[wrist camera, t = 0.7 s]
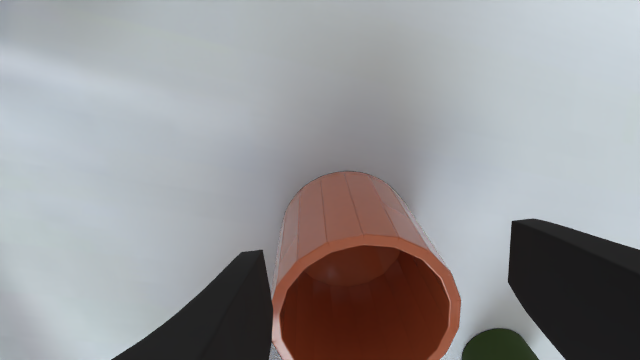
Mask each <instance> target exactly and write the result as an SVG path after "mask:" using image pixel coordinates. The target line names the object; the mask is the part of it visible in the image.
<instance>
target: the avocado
mask: <svg viewBox="0 0 640 360" xmlns="http://www.w3.org/2000/svg"><path fill="white" fill-rule="evenodd" d="M462 360H539V359H538V358H537V356H536V355H535V354H534V352H533V351H532V350H531V348H530V347H529V346H528V344H527V343H526V342H525V341H524V339H523V338H522V337H521V336H520V335H519V334H517V333H516V332H514V331H511V330H507V329H492V330H488V331H485V332H483V333H481V334H479V335H477V336H476V337H474V338H473V339H472V340H471V341H470V342H469V343H468V344H467V346H466V347H465V349H464V351H463V355H462Z"/></svg>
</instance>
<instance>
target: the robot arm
mask: <svg viewBox="0 0 640 360" xmlns="http://www.w3.org/2000/svg"><path fill="white" fill-rule="evenodd" d="M508 283H509V285H510V287H511V288H512V290H513V292H514V293H515V295H516V297H517V298H518V300H519V301H520V303H521V305H522V306H523V308H524V309H525V311H526V312H527V313H528V315H529V316H530V317H531V318H532V320H533V321H534V322H535V323H536V325H537V326H538V327H539V328H540V329H541V331H542V332H543V333H544V334H545V336H546V337H547V338H548V339H549V340H550V342H551V343H552V344H553V345H554V346H555V348H556V349H557V350H558V351H559V352H560V354H561V355H562V356H563V357H564V358H565V359H566V360H640V250H638V249H635V248H632V247H628V246H625V245H622V244H618V243H615V242H612V241H609V240H606V239H602V238H599V237H596V236H593V235H590V234H587V233H583V232H580V231H577V230H574V229H571V228H568V227H564V226H561V225H558V224H554V223H551V222H547V221H543V220H538V219H525V220H517V221H512V225H511V241H510V257H509V273H508ZM272 328H273V305H272V299H271V294H270V288H269V282H268V277H267V271H266V266H265V260H264V255H263V250H256V251H248V252H241V253H240V254H239V255H238V256H237V257H236V258H235V259H234V260H233V261H232V262H231V263H230V264H229V265H228V266H227V267H226V268H225V269H224V270H223V271H222V272H221V273H220V274H219V275H218V276H217V277H216V278H215V279H214V280H213V281H212V282H211V283H210V284H209V285H208V286H207V287H206V288H205V289H204V290H203V291H202V292H200V293H199V294H198V295H197V296H196V297H195V298H194V299H193V300H191V301H190V302H189V303H188V304H187V305H186V306H185V307H184V308H182V309H181V310H180V311H179V312H178V313H177V314H175V315H174V316H173V317H172V318H171V319H169V320H168V321H167V322H165V323H164V324H163V325H162V326H160V327H159V328H157V329H156V330H155V331H153V332H152V333H151V334H149V335H148V336H147V337H145V338H144V339H142V340H141V341H140V342H138V343H137V344H135V345H133V346H132V347H130V348H129V349H127V350H126V351H124V352H122V353H121V354H119V355H118V356H116V357H115V358H113V359H112V360H269V354H270V348H271V342H272Z"/></svg>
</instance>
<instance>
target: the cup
mask: <svg viewBox="0 0 640 360" xmlns="http://www.w3.org/2000/svg"><path fill="white" fill-rule="evenodd" d="M271 299H272V305H273V328H272V343H273V344H274V346H275V348H276V349H277V351H278V353H279V354H280V356H281V358H282V359H283V360H440V359H441V358H442V357H443V356H444V355H445V354H446V352H447V351H448V349H449V347H450V345H451V343H452V341H453V339H454V337H455V335H456V333H457V331H458V328H459V321H460V307H461V298H460V295H459V292H458V289H457V287H456V284H455V281H454V279H453V276H452V273H451V272H450V270H449V269H448V267H447V266H446V264H445V263H444V261H443V260H442V258H441V257H440V255H439V253H438V252H437V250H436V249H435V247H434V246H433V244H432V243H431V241H430V240H429V238H428V237H427V235H426V234H425V232H424V231H423V229H422V228H421V226H420V225H419V223H418V222H417V220H416V219H415V217H414V216H413V214H412V213H411V211H410V210H409V208H408V207H407V205H406V204H405V202H404V201H403V200H402V199H401V198H400V196H399V195H398V194H397V193H396V191H395V190H394V189H393V188H392V187H390V186H389V185H388V184H387V183H385V182H384V181H382V180H380V179H379V178H376V177H374V176H372V175H369V174H365V173H361V172H352V171H344V172H335V173H331V174H327V175H324V176H321V177H319V178H317V179H315V180H313V181H311V182H310V183H308V184H307V185H306V186H304V187H303V188H302V189H301V190H300V191H299V192H298V193H297V194H296V195H295V196H294V197H293V199H292V200H291V202H290V203H289V205H288V207H287V209H286V211H285V215H284V218H283V223H282V227H281V230H280V236H279V243H278V250H277V257H276V263H275V270H274V277H273V283H272V290H271Z"/></svg>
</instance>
